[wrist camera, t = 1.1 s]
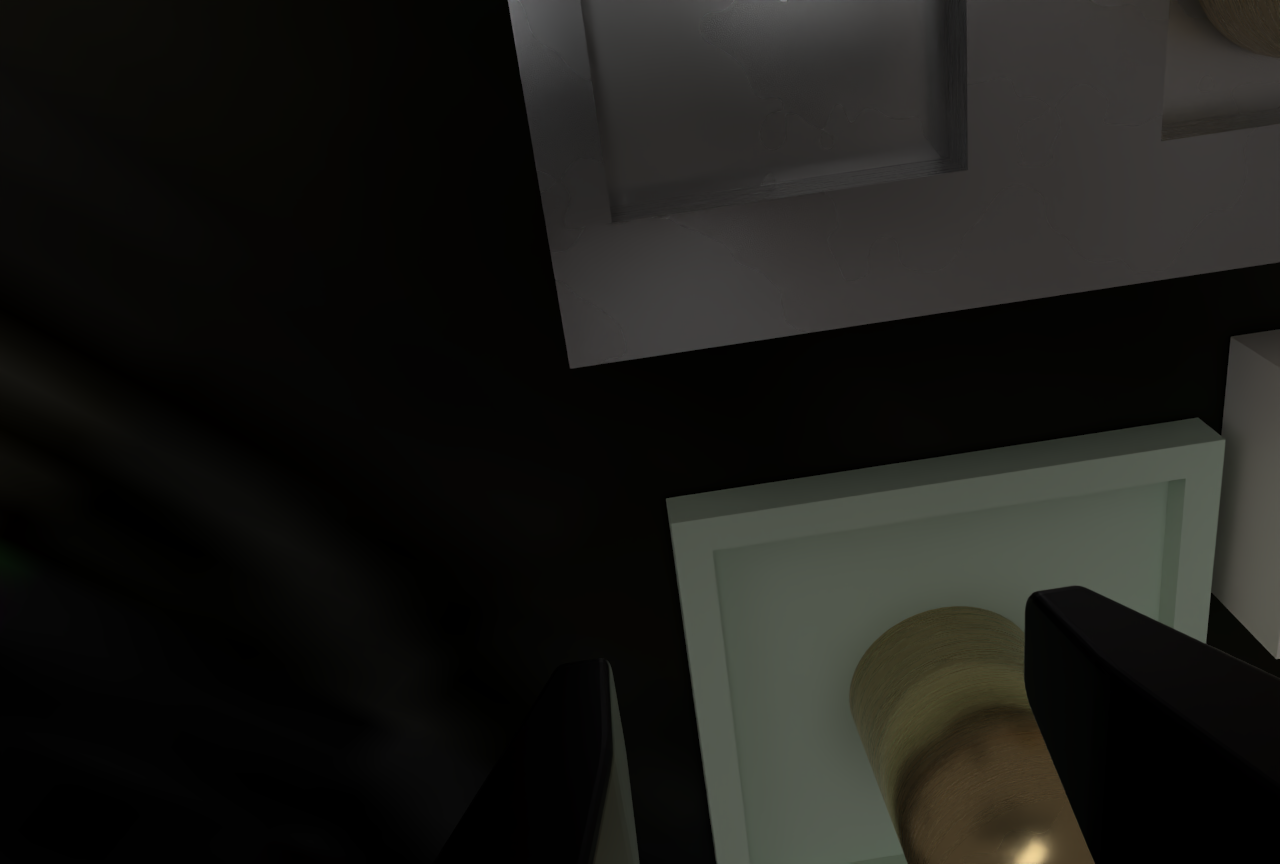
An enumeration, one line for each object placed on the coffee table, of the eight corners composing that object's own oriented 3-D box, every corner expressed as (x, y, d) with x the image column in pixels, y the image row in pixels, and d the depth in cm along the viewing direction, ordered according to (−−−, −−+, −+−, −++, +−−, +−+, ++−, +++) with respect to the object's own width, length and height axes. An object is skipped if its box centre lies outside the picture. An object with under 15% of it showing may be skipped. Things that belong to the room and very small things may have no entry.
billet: (1036, 746, 25) (1159, 959, 20) (854, 775, 25) (932, 994, 20) (1039, 592, 23) (1175, 782, 18) (843, 622, 23) (925, 820, 18)
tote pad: (1163, 822, 27) (1185, 854, 26) (719, 891, 26) (726, 926, 26) (1198, 417, 22) (1225, 439, 21) (665, 498, 22) (670, 523, 21)
